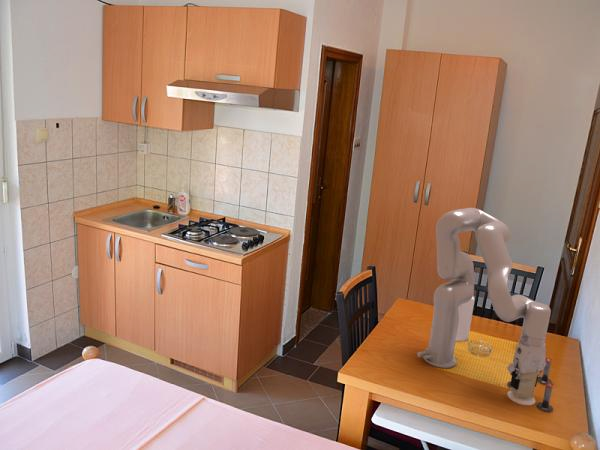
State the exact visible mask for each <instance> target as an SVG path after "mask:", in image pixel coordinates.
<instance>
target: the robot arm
mask: <svg viewBox="0 0 600 450" xmlns="http://www.w3.org/2000/svg"><path fill="white" fill-rule="evenodd" d="M470 231H472V232H474V235H475V236H474V237H475V240H476V243H477V245H478V248H479V251H480V254H481V257H482V258H483V261H484V265H485V267H486V271H487V293H488V297H489V300H490V302H491V305H492V307H493V310H494V312H495V314H496V316H497V317H498V318H499V319H500V320H502V321H504V322H507V323H509V322H514V321H516V320H518V319H521V318H523V323H522V327H521V332H520V333H521V334H520V337H519V338H518V339H519V340H518V342H517V346H516V348H515V351H514V355H513V358H512V362H511V363H510V364H509V365H508V366H507V368H506V369H507V370H508V372H509V374H510V376H511V379H510V381H511V383H510V385H511V386H512V387H513V388H514V389H516V390H518V388H519V383H520V379H519V377H520V376H521V374H522V373H523V374H525V373H533V372H536V370H537V367H539V370H538V374H537V379H536V383H535V388H536V387H537V384H538V381H537V380H538V377H541V373H542V372H543V370H544V367H545V366H546V362H545V358H546V355H547V353H546V352H547V351H546V350H547V347H546V343H545V342H546V338H547V331H548V328H549V323H550V319H551V318H550V317H551V312H552V310H551V308H550V306H549V305H547V304H545V303H542V302H539V301H535V300H533V299H531V298H530V297H527V296H526V295H523V294H517V293H516V294H514V295H511V292H510V289H509V278H510V277H509V276H510V274H511V271H512V269H513V262H512V261H513V260H512V257H511V256H510V254H509V251H508V248H507V245H506V243H507V242H508V241H509V239H510V236H511V232H510V228H509V227H508V226H507V224H505V223H504V222H503V221H502V220H499V219H498V218H496V217H494V216H492V215H490V214H488V213H487V212H485V211H483V210H481V209H479V208H476V207H465V208H458V209H457V208H456V209H454V210H450V211H448V212H446V213H444V214H443V215H441V216H440V218H438V220H437V223H436V225H435V236H436V270H437V274H438V276H439V278H441V279H443V280H445V281H446V280H448V281H447V282H445V283H442V284H440V285H438V287H437V288H436V289H435V290H434V294H433V313H432V321H431V322H432V323H431V330H430V335H429V336H430V337H429V343H428V347H425V350H423V351H417V352H416V354H417V357H418V358H421V357H422V359H423V360H424V361H425V362H426V363H427V364H429V365H431V366H433V367H437V368H443V369H451V368H454V367H455V366H456V365H457V361H458V360H457V359H456V357H455V356H454V354H455V348H456V342H457V341H456V335H457V329H458V322H459V313H458V306H460V305H462V304H464V303H467V302H468V301H470V300H471V299H472V297H474V292H475V266H474V265H475V264H474V262H473V259H472V258H471V256H470V255H469V254H468V253H467V252H464V251H462V250H461V241H460V237H459V236H458V234H460V233H465V232H470ZM449 280H450V281H449ZM517 370H518V371H519V372H518V373H517V374H516V371H517Z"/></svg>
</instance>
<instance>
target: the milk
mask: <svg viewBox="0 0 600 450" xmlns="http://www.w3.org/2000/svg"><path fill="white" fill-rule="evenodd" d="M475 301H476V300H475V297H474V296H473V297H472V299H471V300H470V301H468V302H467V303H464V304H462V305H460V306H458V313H459V322H458V329H457V335H456V342H460V341H464V342H465V341H468V340H469V336H470V331H471V330H470V329H471V325H472V324H471V323H472V317H473V311H474V304H475Z"/></svg>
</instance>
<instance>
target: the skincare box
mask: <svg viewBox="0 0 600 450" xmlns="http://www.w3.org/2000/svg"><path fill="white" fill-rule="evenodd" d="M538 370H539V367H537V370H536V372H533V373H525V374H523V373H522V374H521V376H520V377H519V379H520V383H519V388H518V390H516V389H514V388H513V387H512V386H511V388H510V390H511V392H512V393H513V395H514V396H515V397H520V398H529V399H532V397H534V392H535V388H536V387H535V383H536V379H537V374H538ZM518 372H519V371H518V370H517V371H516V374H517V373H518Z"/></svg>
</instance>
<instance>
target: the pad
mask: <svg viewBox="0 0 600 450" xmlns="http://www.w3.org/2000/svg"><path fill="white" fill-rule="evenodd" d="M507 397H508V398H509V400H511V401H512V402H514V403H516V404H519V405H523V406H533V405H535V404H536V398H535V397H534V396H533V397H532V399H529V398H520V397H515V396H514V395H513V393H512V392H511V389H510V390H509V391H507Z"/></svg>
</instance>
